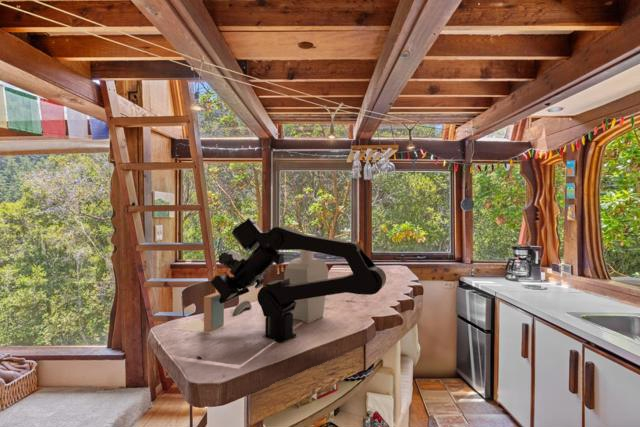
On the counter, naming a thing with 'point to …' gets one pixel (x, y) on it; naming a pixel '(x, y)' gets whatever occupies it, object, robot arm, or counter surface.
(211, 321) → the block
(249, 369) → the counter surface
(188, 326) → the mat
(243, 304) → the ceramic fragment
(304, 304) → the soap bottle
